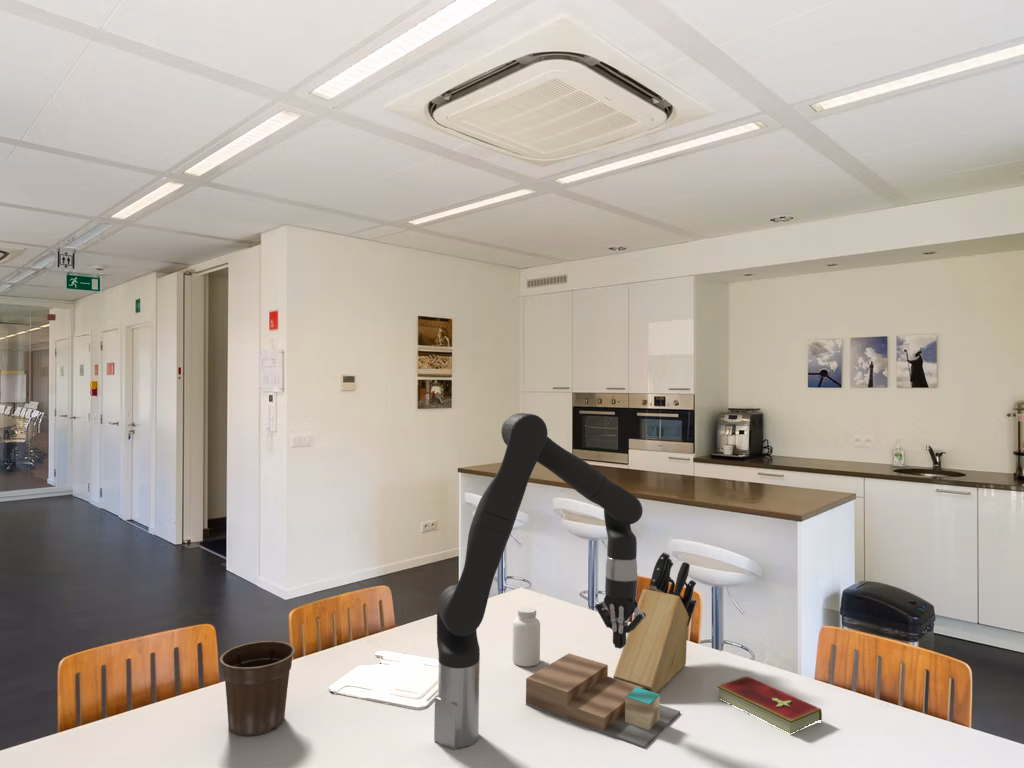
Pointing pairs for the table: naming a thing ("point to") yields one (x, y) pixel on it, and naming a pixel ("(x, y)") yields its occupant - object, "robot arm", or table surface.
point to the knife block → (659, 630)
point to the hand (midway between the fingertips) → (619, 647)
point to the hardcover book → (769, 704)
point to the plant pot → (256, 685)
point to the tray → (393, 681)
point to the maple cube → (642, 708)
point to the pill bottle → (526, 638)
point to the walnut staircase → (590, 699)
